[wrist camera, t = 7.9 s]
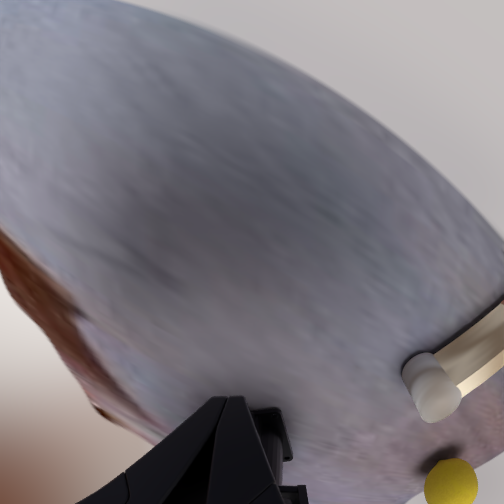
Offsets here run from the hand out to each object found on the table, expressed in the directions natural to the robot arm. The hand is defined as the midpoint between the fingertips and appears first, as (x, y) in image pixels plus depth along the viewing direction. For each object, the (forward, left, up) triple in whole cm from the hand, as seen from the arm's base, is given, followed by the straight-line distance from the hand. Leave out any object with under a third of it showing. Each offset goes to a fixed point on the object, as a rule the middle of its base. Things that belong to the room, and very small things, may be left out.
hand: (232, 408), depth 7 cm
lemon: (-25, -14, -12) cm, 31 cm away
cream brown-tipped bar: (-9, -13, -12) cm, 20 cm away
